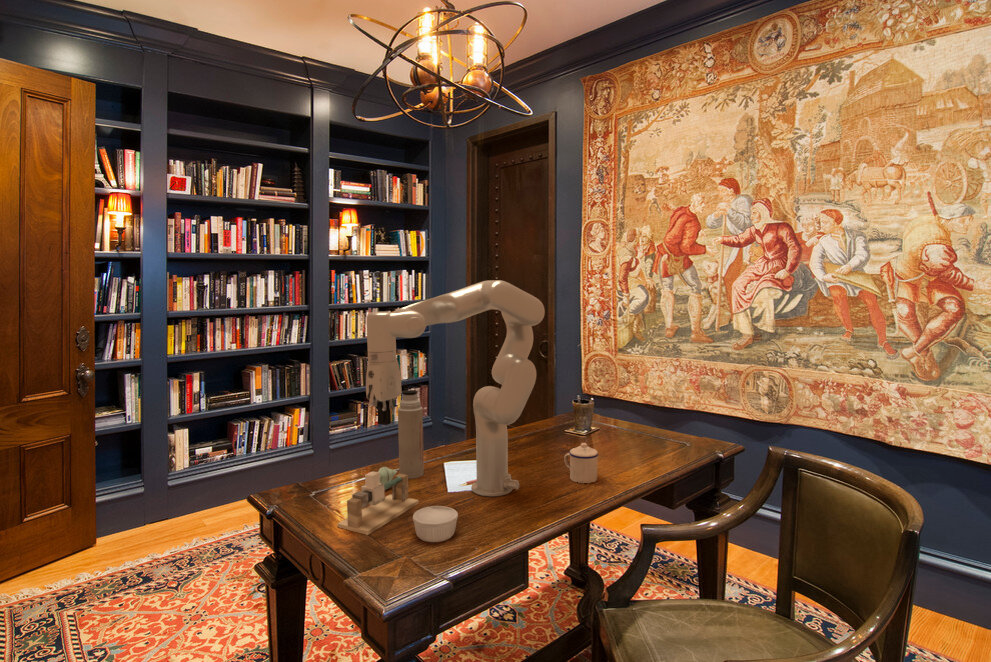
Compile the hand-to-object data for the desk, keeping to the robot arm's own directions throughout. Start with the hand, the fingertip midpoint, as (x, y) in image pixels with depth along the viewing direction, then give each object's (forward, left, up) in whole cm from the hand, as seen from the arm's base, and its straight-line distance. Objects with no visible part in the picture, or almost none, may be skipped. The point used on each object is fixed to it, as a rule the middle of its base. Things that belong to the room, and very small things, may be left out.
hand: (384, 423), depth 149 cm
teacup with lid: (-40, -48, -25) cm, 67 cm away
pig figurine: (+11, -13, -25) cm, 30 cm away
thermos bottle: (+11, -27, -25) cm, 39 cm away
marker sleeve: (0, +5, -20) cm, 21 cm away
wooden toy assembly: (0, +3, -25) cm, 25 cm away
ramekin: (-20, +6, -25) cm, 33 cm away
